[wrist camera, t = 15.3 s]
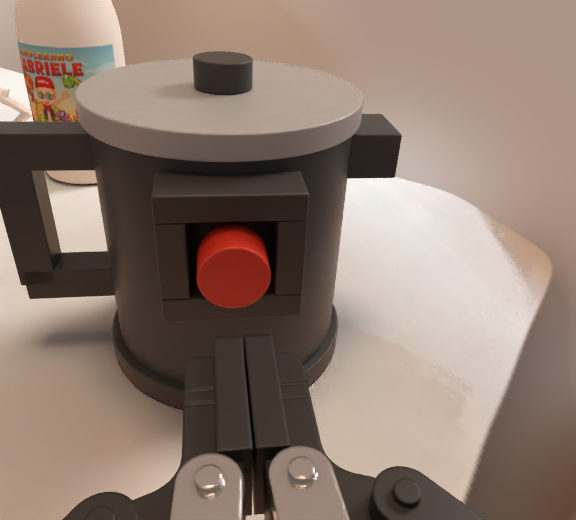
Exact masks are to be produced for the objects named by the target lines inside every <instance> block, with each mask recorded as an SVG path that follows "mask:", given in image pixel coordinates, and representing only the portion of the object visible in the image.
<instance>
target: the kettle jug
mask: <svg viewBox="0 0 576 520" xmlns="http://www.w3.org/2000/svg"><path fill="white" fill-rule="evenodd" d="M75 102H76V108H77V113H78V119H79V122H0V209H1V213H2V216H3V220H4V224H5V227H6V231H7V235H8V238H9V242H10V245H11V249H12V253H13V256H14V260H15V264H16V267H17V271H18V275H19V278H20V282H21V285H26V287H27V291H28V294H29V298H30V299H38V298H62V297H86V296H110V295H115V298H116V305H117V311H116V314H115V317H114V320H113V328H112V330H113V340H114V345H115V351H116V356H117V359H118V362H119V365H120V366H121V368H122V370H123V372H124V373H125V375H126V376H127V377H128V378H129V379H130V381H131V382H132V383H133V384H134V385H135V386H137V387H138V388H139V389H140V390H141V391H143V392H144V393H146V394H147V395H149V396H151V397H152V398H154V399H156V400H158V401H160V402H163V403H165V404H167V405H170V406H173V407H177V408H180V409H183V410H184V393H185V372H186V370H187V369H188V367H189V365H190V364H191V362H192V360H193V358H194V357H210V356H215V352H214V336H225V335H242V342H243V338H244V334H260V333H271V334H272V339H273V344H274V350H275V352H293V353H294V354H295V356H296V357H297V358H298V359H299V360H300V362H301V363H302V364H303V366H304V371H305V375H306V379H307V384H308V387H309V386H310V385H311V384H312V383H313V382H314V381H316V380H317V379H318V377H319V376H320V375H321V374H322V373H323V372H324V370H325V369H326V367H327V366H328V364H329V362H330V361H331V358H332V355H333V353H334V349H335V343H336V336H337V328H338V322H337V314H336V310H335V307H334V305H333V296H334V288H335V279H336V270H337V262H338V253H339V244H340V235H341V227H342V218H343V209H344V201H345V192H346V183H347V178H394V177H395V173H396V167H397V161H398V155H399V149H400V142H401V137H402V135H401V134H400V133H399V132H398V131H397V130H396V129H395V127H393V125H392V124H391V123H390V122H389V121H388V120H387V119H386V118H385V117H384V116H383V115H382V114H362V109H363V97H362V94H361V92H360V91H359V90H358V89H357V88H356V87H355V86H353V85H352V84H350V83H349V82H347V81H345V80H342V79H340V78H338V77H336V76H333V75H330V74H327V73H324V72H320V71H317V70H313V69H309V68H305V67H300V66H294V65H288V64H282V63H275V62H267V61H257V60H252V58H251V57H250V56H248V55H245V54H241V53H235V52H219V51H218V52H205V53H200V54H197V55H195V56H193V59H173V60H161V61H153V62H145V63H138V64H132V65H127V66H122V67H118V68H114V69H110V70H107V71H104V72H101V73H98V74H96V75H94V76H92V77H89V78H88V79H86V80H85V81H83V82H82V83H81V84H80V85H79V86H78V87H77V89H76V91H75ZM80 170H95V174H96V180H97V186H98V192H99V198H100V205H101V211H102V217H103V223H104V230H105V236H106V242H107V248H108V251H105V252H71V253H61V249H60V245H59V240H58V236H57V231H56V226H55V222H54V217H53V212H52V208H51V203H50V199H49V194H48V189H47V185H46V180H45V176H44V171H80ZM224 225H241V226H245V227H247V228H249V229H251V230H253V231H254V232H256V233H257V234H258V235H259V236H260V237H261V238H262V240H263V242H264V244H265V247H266V251H267V257H268V262H269V267H270V272H271V280H270V284H269V287H268V289H267V290H266V292H265V293H264V295H263V296H262V297H261V298H260V299H258V300H257V301H256V302H254V303H252V304H250V305H248V306H244V307H240V308H225V307H221V306H218V305H215V304H213V303H212V302H210V301H209V300H207V299H206V298H205V297H204V296H203V295H202V293H201V292H200V290H199V288H198V285H197V251H198V247H199V244H200V242H201V241H202V239H203V238H204V237H205V236H206V235H207V234H208V233H209V232H210V231H212V230H214V229H216V228H218V227H221V226H224Z"/></svg>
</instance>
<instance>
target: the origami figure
mask: <svg viewBox="0 0 576 520" xmlns="http://www.w3.org/2000/svg"><path fill="white" fill-rule="evenodd" d="M8 95H9V90H6V89H0V102H1V103H3V104H5V105H7V106H9V107H11V108H13V109H15V110H16V111H18V112H20V114H19V115H18V117H17V118H16V119H15V120H14V121H13V122H24V121H26V120H27V119H28V118H30V117H31V116H32V111H31V110H29V109H28V108H26V107H24V106H23V105H21V104H20V103H18V102H16V101H15V100H13V99H11V98H10V97H8Z"/></svg>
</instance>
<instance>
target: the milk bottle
mask: <svg viewBox="0 0 576 520" xmlns="http://www.w3.org/2000/svg"><path fill="white" fill-rule="evenodd" d="M15 27H16V35H17V41H18V47H19V53H20V58H21V63H22V68H23V73H24V78H25V83H26V87H27V92H28V97H29V102H30V107H31V111H32V116H33V121H34V122H79V119H78V113H77V108H76V102H75V91H76V89H77V87H78V86H79V85H80V84H81V83H82V82H83V81H85V80H86V79H88V78H89V77H92V76H94V75H96V74H98V73H101V72H104V71H107V70H110V69H114V68H118V67H122V66H125V58H124V50H123V44H122V37H121V31H120V27H119V23H118V18H117V15H116V12H115V9H114V7H113V5H112V2H111V0H16V4H15ZM46 172H47V173H48V174H49V176H50V177H52V178H53V179H56V180H58V181H62V182H66V183H74V184H91V183H97V180H96V174H95V170H80V171H46Z"/></svg>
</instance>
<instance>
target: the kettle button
mask: <svg viewBox="0 0 576 520" xmlns="http://www.w3.org/2000/svg"><path fill="white" fill-rule="evenodd" d="M270 280H271V272H270V267H269V262H268V257H267V251H266V247H265V244H264V242H263V240H262V238H261V237H260V236H259V235H258V234H257V233H256V232H254V231H253V230H251V229H249V228H247V227H245V226H241V225H224V226H221V227H218V228H216V229H214V230H212V231H210V232H209V233H208V234H207V235H206V236H205V237H204V238H203V239H202V241H201V242H200V244H199V247H198V251H197V285H198V288H199V290H200V292H201V293H202V295H203V296H204V297H205V298H206V299H207V300H209V301H210V302H212V303H213V304H215V305H218V306H221V307H225V308H240V307H244V306H248V305H250V304H252V303H254V302H256V301H257V300H258V299H260V298H261V297H262V296H263V295H264V293H265V292H266V290H267V289H268V287H269V284H270Z"/></svg>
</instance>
